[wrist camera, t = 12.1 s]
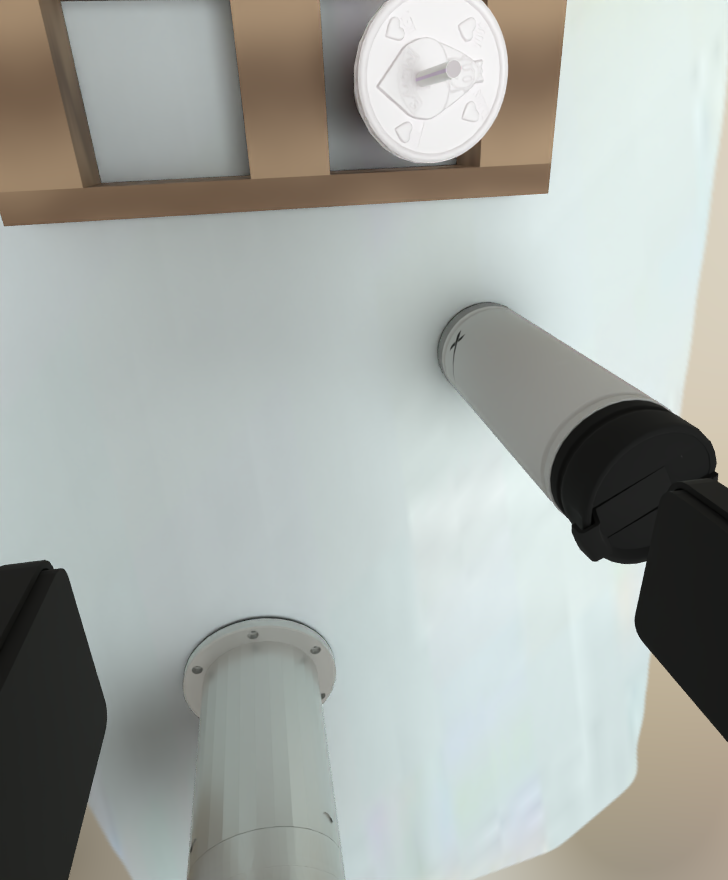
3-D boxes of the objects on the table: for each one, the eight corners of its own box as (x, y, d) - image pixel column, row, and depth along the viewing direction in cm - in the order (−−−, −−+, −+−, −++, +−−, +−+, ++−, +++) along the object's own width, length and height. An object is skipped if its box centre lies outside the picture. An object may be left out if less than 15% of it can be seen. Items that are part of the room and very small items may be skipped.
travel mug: (416, 336, 39) (557, 495, 21) (504, 283, 38) (722, 402, 21) (455, 408, 42) (607, 600, 24) (537, 360, 41) (752, 521, 24)
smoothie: (319, 30, 30) (364, -40, 18) (439, 12, 31) (561, -67, 19) (339, 164, 33) (388, 183, 21) (447, 147, 34) (556, 155, 22)
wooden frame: (518, 188, 36) (548, 193, 32) (30, 216, 32) (4, 225, 28) (535, -40, 31) (572, -63, 27) (-42, -39, 27) (-85, -67, 23)
